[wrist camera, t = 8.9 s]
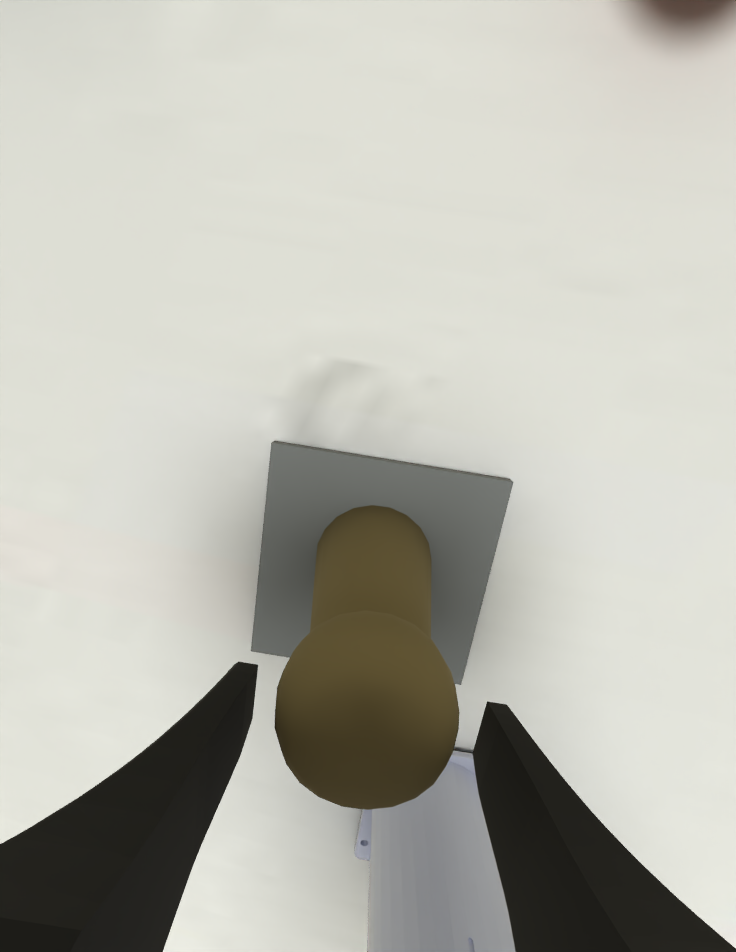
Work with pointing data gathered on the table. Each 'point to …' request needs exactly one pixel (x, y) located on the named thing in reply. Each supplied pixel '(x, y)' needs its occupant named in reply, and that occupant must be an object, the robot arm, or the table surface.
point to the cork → (368, 669)
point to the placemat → (388, 485)
